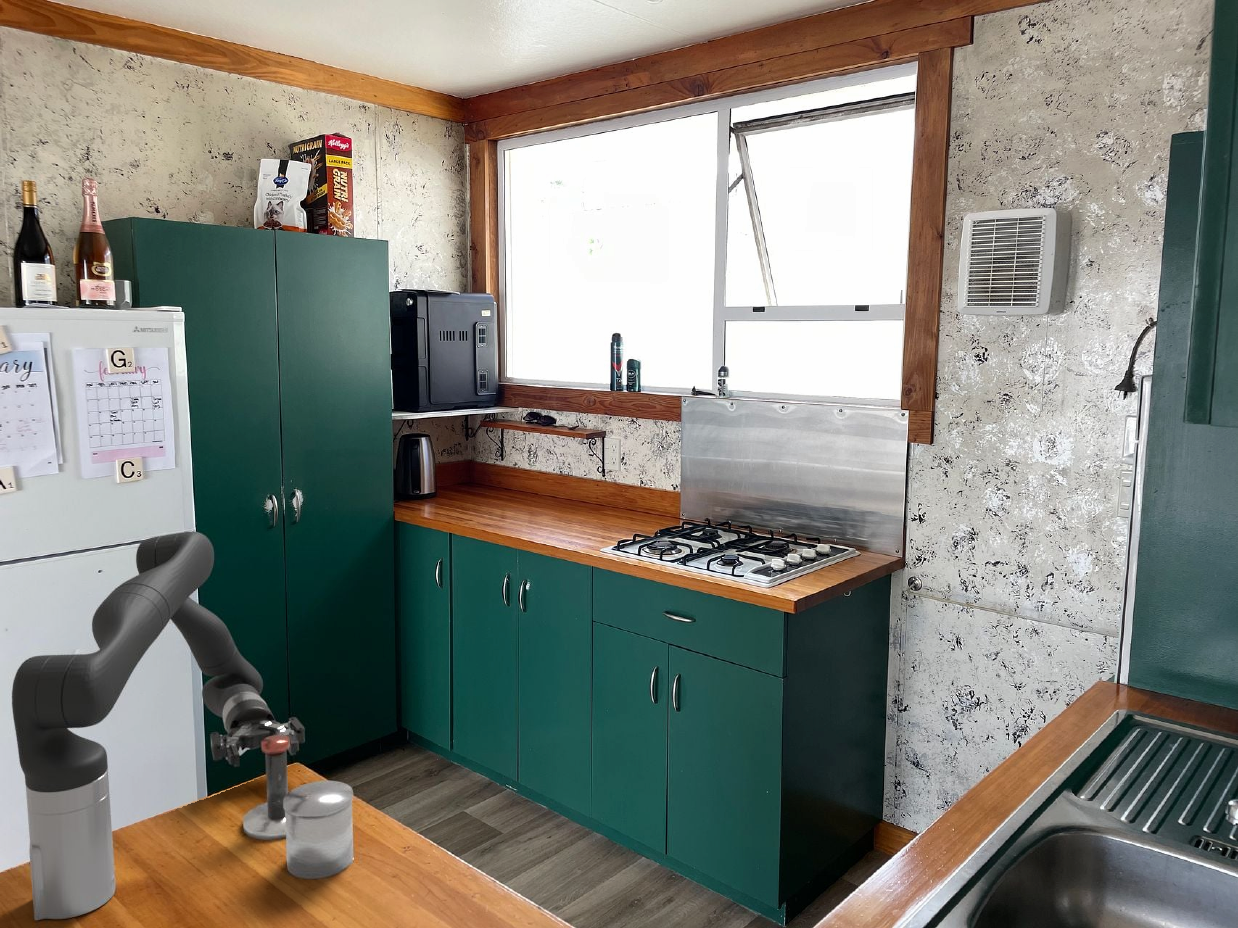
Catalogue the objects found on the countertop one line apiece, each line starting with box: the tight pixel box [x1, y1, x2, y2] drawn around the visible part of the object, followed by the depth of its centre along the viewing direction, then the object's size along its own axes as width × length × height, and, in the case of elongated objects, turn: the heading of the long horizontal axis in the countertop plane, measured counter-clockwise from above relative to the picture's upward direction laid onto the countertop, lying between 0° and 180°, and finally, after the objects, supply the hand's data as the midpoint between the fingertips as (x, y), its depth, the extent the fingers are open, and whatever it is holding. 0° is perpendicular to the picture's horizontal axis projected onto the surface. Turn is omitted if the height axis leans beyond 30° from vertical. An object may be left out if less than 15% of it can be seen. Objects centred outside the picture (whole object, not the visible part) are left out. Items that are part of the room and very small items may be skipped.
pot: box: [283, 780, 354, 880], centre depth 132 cm, size 9×9×10 cm
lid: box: [242, 735, 290, 841], centre depth 142 cm, size 10×10×13 cm
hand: (265, 754), depth 149 cm, fingers open, 8 cm apart
